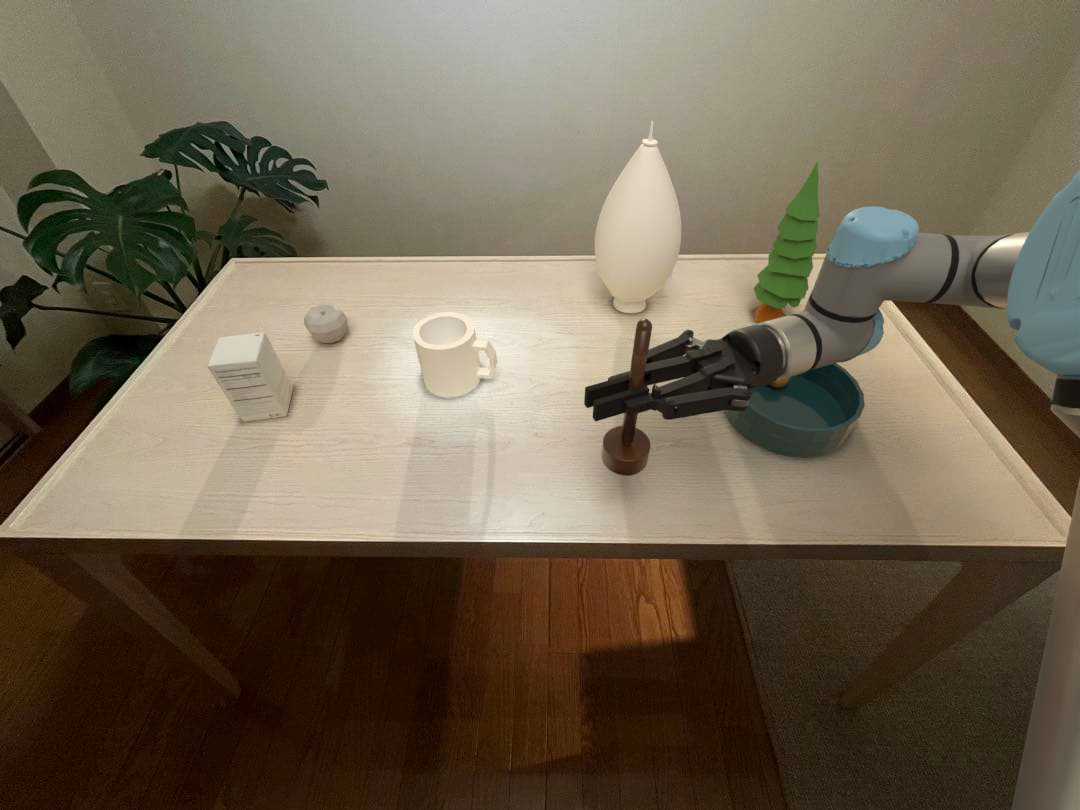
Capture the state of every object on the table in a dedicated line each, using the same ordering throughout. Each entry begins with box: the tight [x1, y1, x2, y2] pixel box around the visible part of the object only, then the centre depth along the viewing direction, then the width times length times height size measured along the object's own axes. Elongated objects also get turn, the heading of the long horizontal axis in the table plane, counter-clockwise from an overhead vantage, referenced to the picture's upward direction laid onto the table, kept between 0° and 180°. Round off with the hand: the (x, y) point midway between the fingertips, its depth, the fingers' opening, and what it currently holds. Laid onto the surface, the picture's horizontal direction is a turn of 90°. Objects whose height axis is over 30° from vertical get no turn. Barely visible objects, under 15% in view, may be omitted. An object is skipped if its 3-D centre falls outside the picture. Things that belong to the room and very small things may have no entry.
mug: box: [412, 311, 498, 399], centre depth 89 cm, size 14×10×11 cm
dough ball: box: [769, 378, 789, 388], centre depth 88 cm, size 4×4×4 cm
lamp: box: [594, 120, 682, 314], centre depth 96 cm, size 16×16×35 cm
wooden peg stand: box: [601, 318, 653, 477], centre depth 61 cm, size 6×6×22 cm
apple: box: [303, 303, 349, 344], centre depth 100 cm, size 8×8×7 cm
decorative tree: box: [753, 161, 820, 323], centre depth 93 cm, size 10×9×30 cm
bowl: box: [724, 363, 866, 459], centre depth 84 cm, size 19×20×6 cm
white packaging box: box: [206, 331, 294, 423], centre depth 85 cm, size 7×7×13 cm
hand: (590, 404), depth 58 cm, fingers closed on wooden peg stand, 2 cm apart
